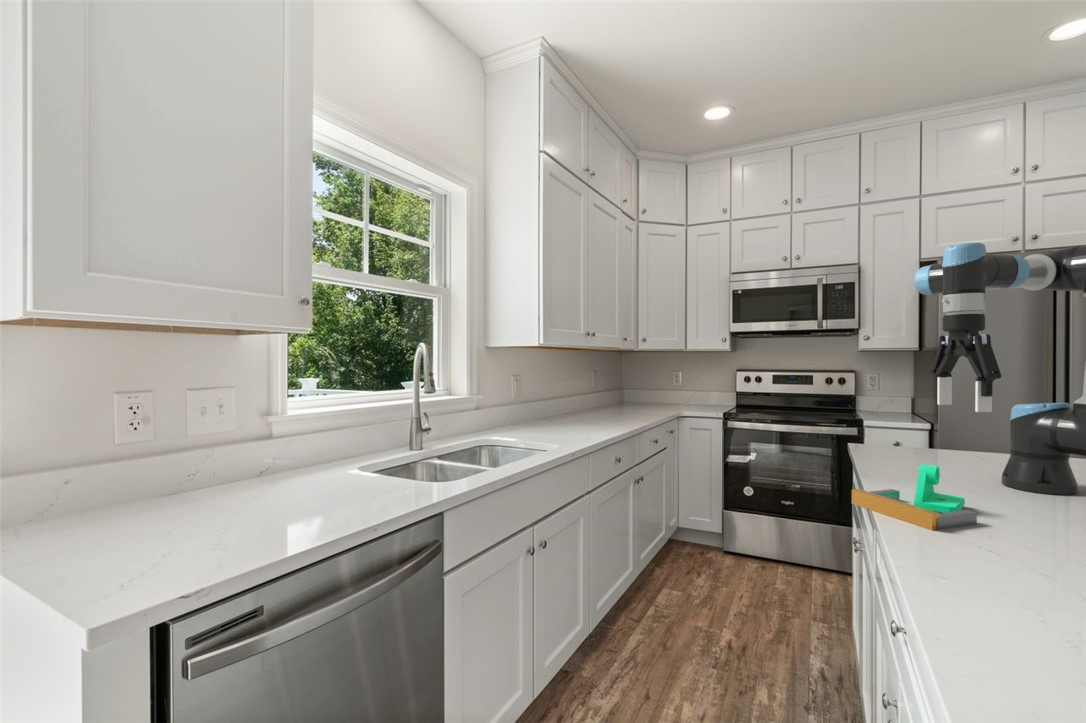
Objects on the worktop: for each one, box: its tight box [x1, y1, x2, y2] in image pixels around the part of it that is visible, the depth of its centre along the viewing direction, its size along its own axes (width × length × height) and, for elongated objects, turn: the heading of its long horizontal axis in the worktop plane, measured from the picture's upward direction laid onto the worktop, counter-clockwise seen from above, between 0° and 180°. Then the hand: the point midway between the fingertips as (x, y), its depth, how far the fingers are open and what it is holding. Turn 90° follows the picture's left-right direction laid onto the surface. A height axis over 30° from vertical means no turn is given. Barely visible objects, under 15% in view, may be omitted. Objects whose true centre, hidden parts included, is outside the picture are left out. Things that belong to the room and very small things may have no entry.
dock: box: [851, 488, 978, 531], centre depth 123 cm, size 13×20×4 cm, turn 17°
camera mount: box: [913, 464, 966, 513], centre depth 126 cm, size 12×8×10 cm, turn 132°
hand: (962, 408), depth 119 cm, fingers open, 13 cm apart
